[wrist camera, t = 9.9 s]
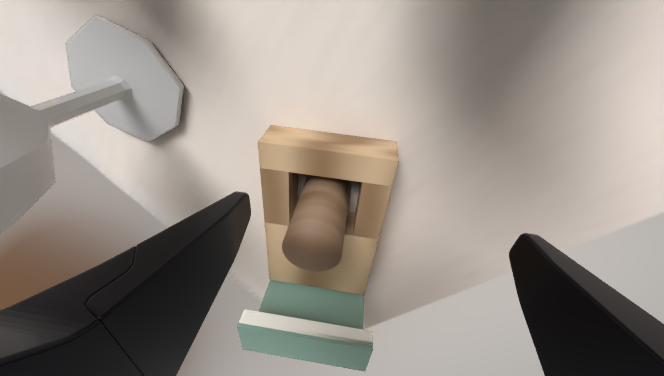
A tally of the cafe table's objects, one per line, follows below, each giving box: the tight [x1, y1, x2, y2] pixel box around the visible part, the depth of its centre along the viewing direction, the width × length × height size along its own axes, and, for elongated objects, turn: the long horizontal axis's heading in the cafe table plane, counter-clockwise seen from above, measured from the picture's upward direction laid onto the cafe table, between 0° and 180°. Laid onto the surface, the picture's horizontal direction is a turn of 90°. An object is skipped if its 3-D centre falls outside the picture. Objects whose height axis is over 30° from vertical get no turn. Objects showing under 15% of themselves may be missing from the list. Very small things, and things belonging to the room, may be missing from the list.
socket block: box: [258, 125, 399, 295], centre depth 25 cm, size 10×16×3 cm, turn 175°
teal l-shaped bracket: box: [237, 280, 373, 371], centre depth 27 cm, size 11×4×9 cm, turn 85°
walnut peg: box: [282, 175, 351, 272], centre depth 21 cm, size 4×4×8 cm
